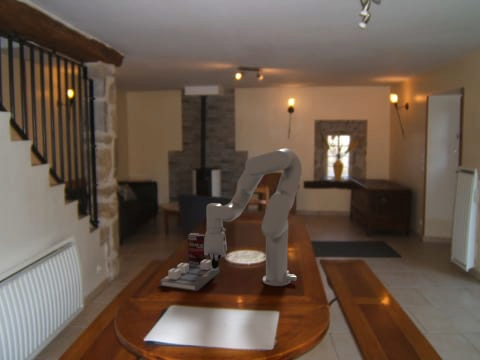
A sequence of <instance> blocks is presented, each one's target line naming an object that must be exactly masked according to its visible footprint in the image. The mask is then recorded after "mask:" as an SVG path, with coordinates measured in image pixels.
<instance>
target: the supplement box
mask: <svg viewBox="0 0 480 360" xmlns="http://www.w3.org/2000/svg"><path fill="white" fill-rule="evenodd" d="M204 239H205V233H195V232H193V233H192V232H190V233H189V234H188V235H187V240H188V241H187V250H188V251H187V252H188V253H187V255H188V258H187V259H188V263H187V264H194V265H201V263H200V262H201V261H203V260H204V259H205V260H208V259H207V258H208V257H207V255H205V254H204Z"/></svg>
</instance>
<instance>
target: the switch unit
mask: <svg viewBox="0 0 480 360" xmlns="http://www.w3.org/2000/svg"><path fill="white" fill-rule="evenodd" d="M188 264H189V263H188ZM219 273H220V266H218V267H217V268H216V269H212V268H210V269H209V270H203V269H201V265H194V264H189V271H188V272H187V273H186V274H183V273H181V277H180V278H178V279H177V280H174V279H169V278H168V275H165V277H163V278H162V279H160V281H159V283H160V284H159V285H160V287H167V288H173V289H180V290H187V291H193V292H194V291H195V292H199V290H200V289H202V288H203V287H204V286H205V285H206V284H207V283H208V282H210V281H211V280H212V279H214V278H215V277H216V276H217V275H218V274H219Z"/></svg>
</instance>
